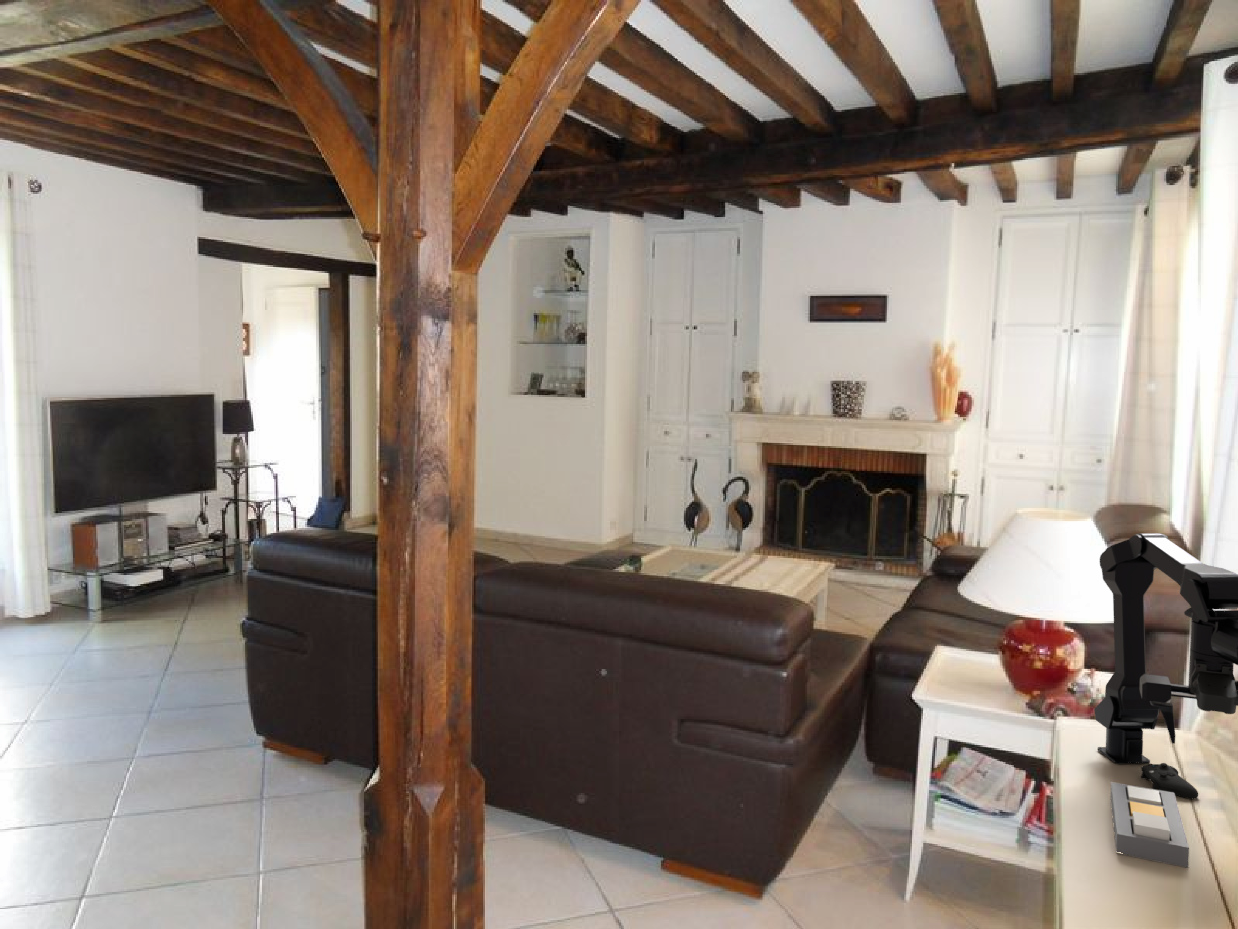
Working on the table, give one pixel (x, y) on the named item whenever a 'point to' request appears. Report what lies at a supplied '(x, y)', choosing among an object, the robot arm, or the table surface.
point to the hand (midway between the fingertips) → (1207, 747)
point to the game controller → (1168, 780)
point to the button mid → (1145, 809)
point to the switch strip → (1142, 845)
